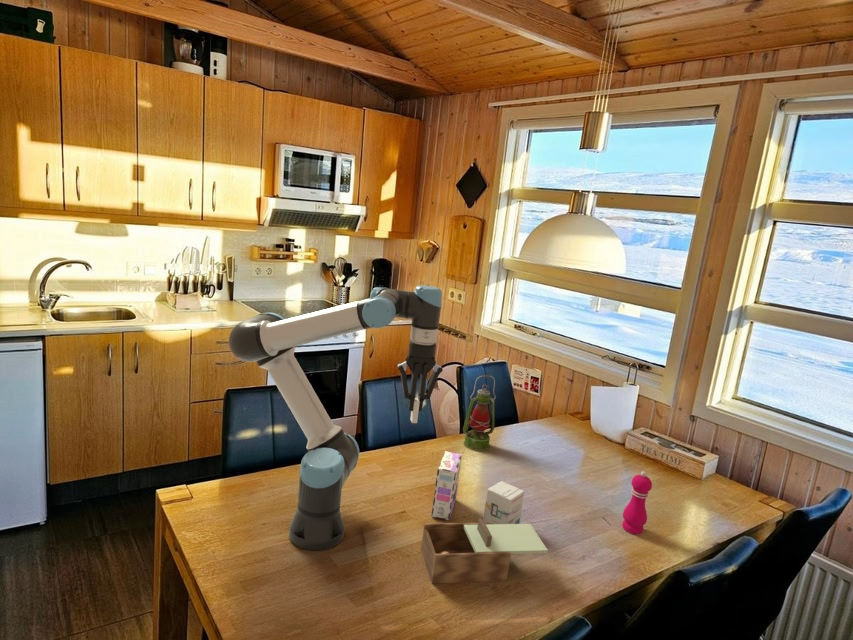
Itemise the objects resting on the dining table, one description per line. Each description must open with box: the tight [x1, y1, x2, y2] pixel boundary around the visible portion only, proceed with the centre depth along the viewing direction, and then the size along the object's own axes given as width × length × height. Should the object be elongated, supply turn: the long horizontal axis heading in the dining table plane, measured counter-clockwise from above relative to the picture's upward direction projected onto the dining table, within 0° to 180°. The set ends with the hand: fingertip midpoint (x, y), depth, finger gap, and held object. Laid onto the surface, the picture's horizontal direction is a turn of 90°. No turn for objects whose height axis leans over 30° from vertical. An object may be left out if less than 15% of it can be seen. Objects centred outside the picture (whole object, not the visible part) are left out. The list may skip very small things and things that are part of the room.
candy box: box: [431, 450, 463, 522], centre depth 177 cm, size 14×6×16 cm, turn 168°
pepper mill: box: [621, 470, 653, 535], centre depth 177 cm, size 7×7×20 cm
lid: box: [463, 518, 549, 555], centre depth 151 cm, size 20×12×4 cm, turn 102°
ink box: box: [482, 480, 525, 524], centre depth 172 cm, size 8×8×12 cm
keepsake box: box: [420, 522, 512, 584], centre depth 150 cm, size 20×14×9 cm
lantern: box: [462, 374, 497, 452], centre depth 226 cm, size 14×11×30 cm
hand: (413, 421), depth 161 cm, fingers closed
